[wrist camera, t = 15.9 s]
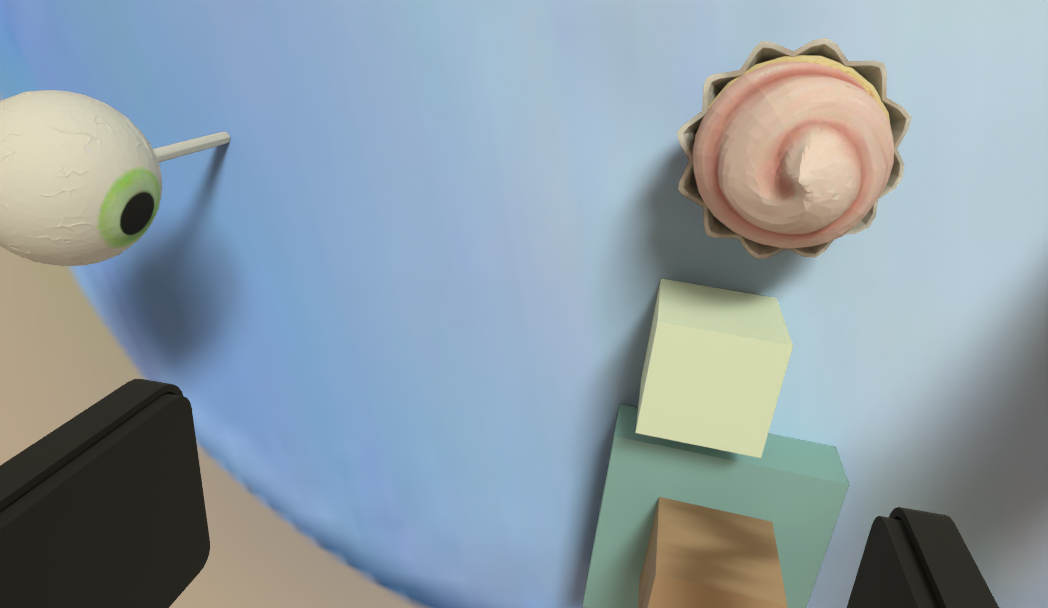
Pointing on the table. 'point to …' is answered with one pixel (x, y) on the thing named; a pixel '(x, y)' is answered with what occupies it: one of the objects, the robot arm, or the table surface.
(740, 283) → the table surface
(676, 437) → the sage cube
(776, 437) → the base block
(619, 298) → the table surface
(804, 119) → the cupcake
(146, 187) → the lollipop
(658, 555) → the walnut cube
